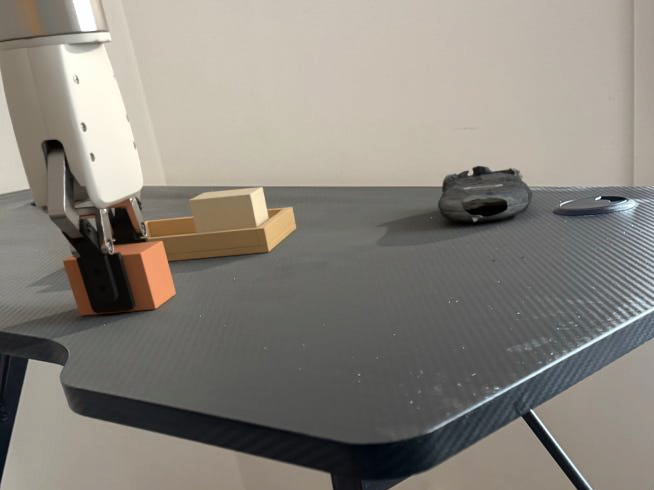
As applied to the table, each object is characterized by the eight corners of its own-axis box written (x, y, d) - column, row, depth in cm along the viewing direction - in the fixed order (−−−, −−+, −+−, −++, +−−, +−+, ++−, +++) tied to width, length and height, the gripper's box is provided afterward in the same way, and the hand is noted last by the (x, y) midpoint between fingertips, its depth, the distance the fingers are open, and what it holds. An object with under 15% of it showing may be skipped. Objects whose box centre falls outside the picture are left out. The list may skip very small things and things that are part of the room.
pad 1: (79, 316, 70) (62, 260, 68) (104, 300, 75) (88, 247, 72) (156, 309, 70) (140, 253, 68) (176, 294, 74) (162, 240, 72)
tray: (103, 267, 88) (96, 243, 87) (148, 242, 98) (142, 221, 97) (269, 252, 86) (264, 227, 85) (296, 228, 97) (292, 206, 96)
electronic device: (436, 221, 101) (438, 222, 87) (437, 164, 99) (439, 156, 85) (521, 224, 102) (536, 226, 88) (524, 168, 99) (539, 160, 86)
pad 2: (199, 245, 90) (188, 200, 88) (213, 235, 94) (203, 192, 92) (259, 239, 89) (250, 194, 87) (271, 230, 94) (262, 186, 91)
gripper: (48, 29, 70) (121, 281, 79) (-73, 27, 55) (34, 335, 65) (145, 18, 69) (206, 274, 79) (47, 13, 55) (137, 326, 65)
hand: (127, 299), depth 72 cm, fingers closed on pad 1, 5 cm apart
